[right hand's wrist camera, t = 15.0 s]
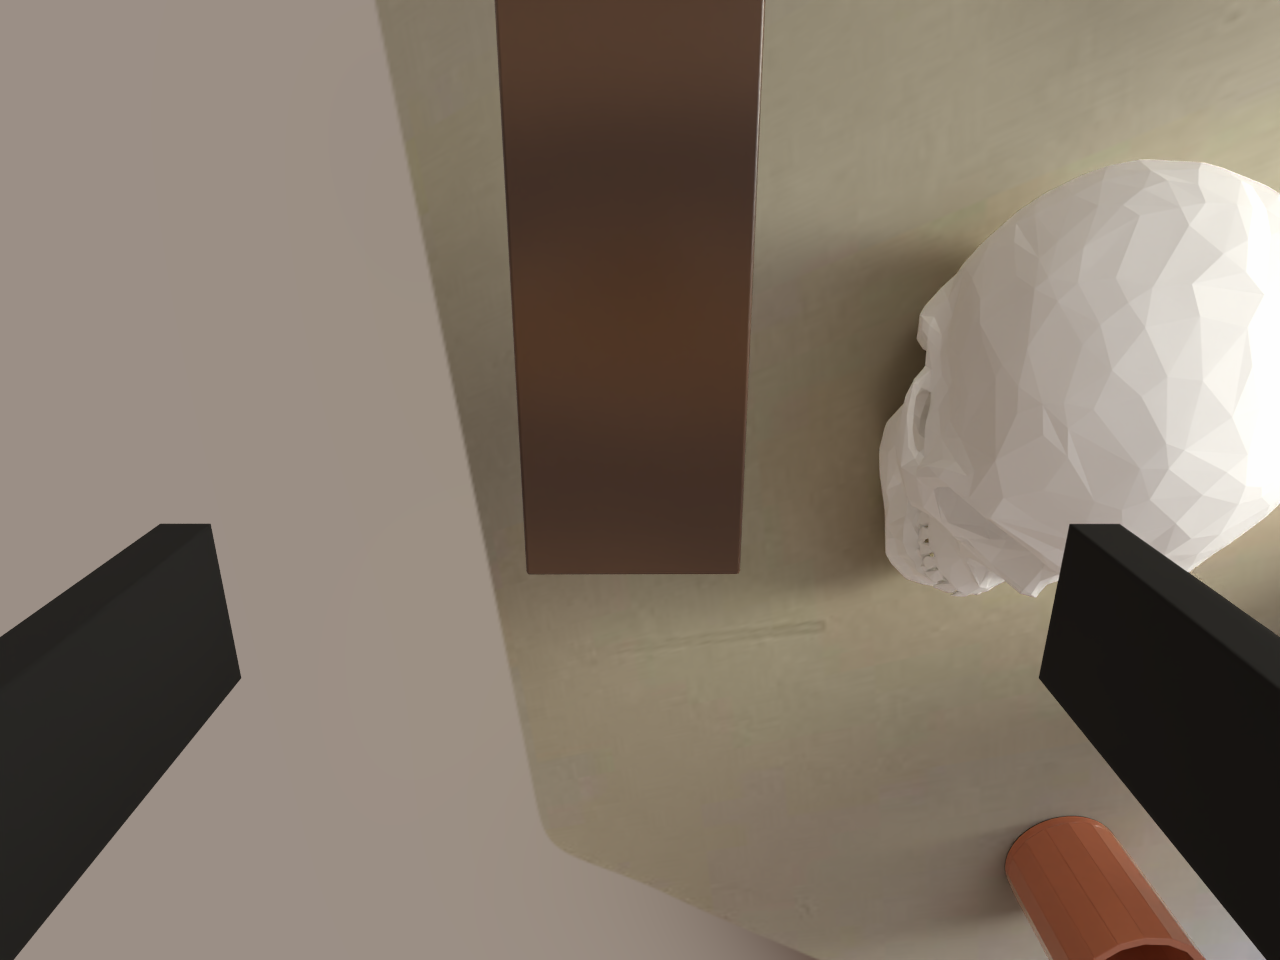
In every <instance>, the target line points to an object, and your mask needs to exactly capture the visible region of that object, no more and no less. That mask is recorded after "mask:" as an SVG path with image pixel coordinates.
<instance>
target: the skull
mask: <svg viewBox="0 0 1280 960" xmlns="http://www.w3.org/2000/svg"><path fill="white" fill-rule="evenodd" d="M917 341H918V342H919V344H920V345H921V347H922V348H923V349H924V350H926V362H925V367H924V368H923V369H922V371H921V372H920V373H919V374H918V375H917V376H916V377H915V378H914V380H913V383H912V384H911V386H910V388H909V390H908V392H907V394H906V396H905V400H904V404H903V405H902V406H901V407H900V408H899V409H898V410H897V411H896V412H895V413H894V415H893V416H892V417H891V418H890V419H889V420H888V421H887V423H886V425H885V428H884V432H883V436H882V440H881V444H880V448H879V472H880V480H881V487H882V494H883V502H884V509H885V552H886V555H887V557H888V559H889V561H890V562H891V564H892V565H893V566H894V567H895V568H896V569H897V570H898V571H899V572H900V573H901V574H902V575H903V576H904V577H905V578H906V579H908V580H911V581H914V582H917V583H920V584H925V585H931V586H933V587H934V588H937V589H939V590H942V591H944V592H947V593H953V594H951V595H952V596H967V595H970V594H974V595H978V594H981V593H982V592H986V591H988V590H990V589H992V588H994V587H995V586H997V585H999V584H1001V583H1003V582H1004V581H1006V582H1007V583H1008V584H1009V585H1011V586H1012V587H1013V588H1014V589H1015V590H1017V591H1018V592H1019V593H1020V594H1024V595H1028V596H1031V597H1035V598H1036V597H1037V595H1038V594H1039V593H1040V592H1041V591H1042V590H1043V589H1044V587H1045V586H1046V585H1047V584H1050V583H1053V582H1056V581H1058V579H1059V574H1060V569H1061V564H1062V559H1063V554H1064V549H1065V544H1066V539H1067V534H1068V529H1069V524H1121V525H1122V526H1123V527H1125V528H1126V529H1128V530H1129V531H1130V532H1132V533H1133V534H1135V535H1136V536H1138V537H1139V538H1140V539H1142V540H1143V541H1145V542H1146V543H1147V544H1149V545H1150V546H1152V547H1153V548H1154V549H1156V550H1157V551H1159V552H1160V553H1162V554H1163V555H1164V556H1166V557H1167V558H1169V559H1170V560H1171V561H1173V562H1174V563H1176V564H1177V565H1178V566H1180V567H1181V568H1183V569H1184V570H1186V571H1187V572H1190V571H1191V570H1192V569H1194V568H1195V567H1197V566H1198V565H1199V564H1201V563H1202V562H1203V561H1205V560H1206V559H1208V558H1209V557H1210V556H1212V555H1213V554H1215V553H1216V552H1218V551H1219V550H1221V549H1222V548H1224V547H1226V546H1227V545H1228V544H1230V543H1231V542H1233V541H1234V540H1235V539H1237V538H1238V537H1239V536H1241V535H1242V534H1244V533H1245V532H1246V531H1248V530H1249V529H1250V528H1252V527H1253V526H1255V525H1256V524H1257V523H1259V522H1260V521H1261V520H1263V519H1264V518H1265V517H1266V516H1267V515H1268V514H1269V513H1271V512H1272V511H1273V510H1274V509H1275V508H1276V507H1277V506H1278V505H1279V504H1280V193H1278V192H1276V191H1275V190H1273V189H1272V188H1270V187H1268V186H1267V185H1264V184H1262V183H1259V182H1257V181H1254V180H1252V179H1249V178H1247V177H1244V176H1242V175H1239V174H1237V173H1234V172H1232V171H1229V170H1227V169H1224V168H1222V167H1218V166H1215V165H1211V164H1208V163H1204V162H1189V161H1171V160H1154V159H1141V160H1135V161H1129V162H1124V163H1119V164H1114V165H1109V166H1106V167H1103V168H1100V169H1097V170H1094V171H1091V172H1088V173H1085V174H1083V175H1081V176H1078V177H1076V178H1074V179H1072V180H1070V181H1068V182H1066V183H1064V184H1062V185H1060V186H1058V187H1056V188H1054V189H1052V190H1050V191H1048V192H1046V193H1044V194H1043V195H1041V196H1040V197H1038V198H1037V199H1035V200H1033V201H1032V202H1030V203H1029V204H1027V205H1026V206H1024V207H1023V208H1021V209H1020V210H1018V211H1017V212H1016V213H1015V214H1014V215H1013V216H1012V217H1010V218H1009V219H1008V220H1007V221H1006V222H1005V223H1004V224H1003V225H1001V226H1000V227H999V228H998V229H997V230H996V231H995V232H994V233H992V234H991V235H990V236H989V237H988V238H987V239H986V240H985V241H983V242H982V243H981V244H980V246H979V247H978V248H977V249H976V250H975V251H974V252H973V253H972V254H971V255H970V257H969V258H968V259H967V260H966V261H965V262H964V263H963V265H962V266H961V268H960V269H959V270H958V272H957V273H956V275H955V276H953V277H952V278H951V279H950V280H949V281H948V282H947V283H946V284H945V285H944V286H942V287H941V288H940V289H939V291H938V292H937V293H936V294H935V295H934V296H933V297H932V298H931V299H930V300H929V302H928V303H927V304H926V305H925V306H924V308H923V310H922V311H921V313H920V315H919V326H918V334H917ZM926 526H928V527H926ZM926 539H929V543H925V540H926ZM929 553H933V554H934V557H931V556H930V554H929ZM955 590H957V591H956V592H955Z"/></svg>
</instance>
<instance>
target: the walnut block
mask: <svg viewBox="0 0 1280 960" xmlns="http://www.w3.org/2000/svg"><path fill="white" fill-rule="evenodd" d="M495 15H496V32H497V50H498V68H499V86H500V104H501V122H502V140H503V157H504V175H505V193H506V211H507V229H508V247H509V265H510V283H511V300H512V318H513V336H514V354H515V372H516V390H517V408H518V425H519V443H520V461H521V479H522V497H523V515H524V533H525V551H526V568H527V573H528V574H737V573H739V571H740V558H741V536H742V513H743V491H744V468H745V446H746V423H747V401H748V378H749V356H750V333H751V311H752V288H753V266H754V243H755V221H756V198H757V175H758V153H759V131H760V108H761V86H762V63H763V40H764V18H765V0H495Z"/></svg>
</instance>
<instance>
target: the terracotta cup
mask: <svg viewBox="0 0 1280 960" xmlns="http://www.w3.org/2000/svg"><path fill="white" fill-rule="evenodd" d="M1005 872H1006V877H1007V879H1008V882H1009V884H1010V886H1011V889H1012V891H1013V893H1014V895H1015V897H1016V899H1017V901H1018V903H1019V905H1020V906H1021V908H1022V910H1023V912H1024V914H1025V916H1026V918H1027V920H1028V922H1029V923H1030V925H1031V927H1032V929H1033V931H1034V933H1035V935H1036V937H1037V938H1038V940H1039V942H1040V944H1041V946H1042V948H1043V950H1044V952H1045V954H1046V955H1047V957H1048V959H1049V960H1206V959H1205V957H1204V956H1203V955H1202V953H1201V952H1200V950H1199V949H1198V948H1197V946H1196V945H1195V944H1194V942H1193V941H1192V940H1191V938H1190V937H1189V935H1188V934H1187V933H1186V931H1185V930H1184V929H1183V927H1182V926H1181V925H1180V923H1179V922H1178V920H1177V919H1176V918H1175V916H1174V915H1173V914H1172V912H1171V911H1170V910H1169V908H1168V907H1167V905H1166V904H1165V903H1164V901H1163V900H1162V899H1161V897H1160V896H1159V895H1158V893H1157V892H1156V890H1155V889H1154V888H1153V886H1152V885H1151V884H1150V882H1149V881H1148V880H1147V878H1146V877H1145V875H1144V874H1143V873H1142V871H1141V870H1140V869H1139V867H1138V866H1137V865H1136V863H1135V862H1134V860H1133V859H1132V858H1131V856H1130V855H1129V854H1128V852H1127V851H1126V850H1125V848H1124V847H1123V845H1122V844H1121V843H1120V842H1119V841H1118V840H1117V839H1116V837H1115V836H1114V834H1113V833H1112V832H1111V831H1110V830H1109V829H1108V828H1107V827H1106V826H1104V825H1103V824H1101V823H1100V822H1097V821H1095V820H1093V819H1090V818H1085V817H1079V816H1065V817H1058V818H1053V819H1050V820H1047V821H1044V822H1042V823H1039V824H1037V825H1035V826H1034V827H1032V828H1030V829H1029V830H1027V831H1026V832H1025V833H1023V834H1022V835H1021V836H1020V837H1019V838H1018V839H1017V840H1016V841H1015V843H1014V844H1013V845H1012V847H1011V849H1010V851H1009V852H1008V855H1007V858H1006V863H1005Z"/></svg>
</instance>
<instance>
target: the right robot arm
mask: <svg viewBox="0 0 1280 960" xmlns="http://www.w3.org/2000/svg"><path fill="white" fill-rule="evenodd" d="M240 679H241V675H240V670H239V665H238V660H237V655H236V650H235V645H234V640H233V635H232V630H231V624H230V620H229V615H228V609H227V604H226V599H225V595H224V589H223V584H222V579H221V574H220V569H219V564H218V559H217V554H216V549H215V544H214V539H213V534H212V529H211V524H159V525H158V526H157V527H155V528H154V529H152V530H151V531H150V532H148V533H147V534H145V535H144V536H142V537H141V538H140V539H138V540H137V541H135V542H134V543H133V544H131V545H130V546H128V547H127V548H126V549H124V550H123V551H121V552H120V553H119V554H117V555H116V556H114V557H113V558H111V559H110V560H109V561H107V562H106V563H104V564H103V565H102V566H100V567H99V568H97V569H96V570H95V571H93V572H92V573H90V574H89V575H87V576H86V577H85V578H83V579H82V580H80V581H79V582H78V583H76V584H75V585H73V586H72V587H70V588H69V589H68V590H66V591H65V592H63V593H62V594H61V595H59V596H58V597H56V598H55V599H54V600H52V601H51V602H49V603H48V604H47V605H45V606H44V607H42V608H41V609H39V610H38V611H37V612H35V613H34V614H32V615H31V616H29V617H28V618H27V619H25V620H24V621H22V622H21V623H20V624H18V625H17V626H15V627H14V628H13V629H11V630H10V631H8V632H7V633H5V634H4V635H3V636H1V637H0V960H14V959H15V957H16V956H17V955H18V954H19V952H20V951H21V950H22V949H23V947H24V946H25V945H26V944H27V943H28V941H29V940H30V939H31V938H32V936H33V935H34V934H35V933H36V931H37V930H38V929H39V928H40V926H41V925H42V924H43V923H44V921H45V920H46V919H47V918H48V917H49V915H50V914H51V913H52V912H53V910H54V909H55V908H56V907H57V905H58V904H59V903H60V902H61V900H62V899H63V898H64V897H65V895H66V894H67V893H68V892H69V891H70V889H71V888H72V887H73V886H74V884H75V883H76V882H77V881H78V879H79V878H80V877H81V876H82V874H83V873H84V872H85V871H86V869H87V868H88V867H89V866H90V864H91V863H92V862H93V861H94V860H95V858H96V857H97V856H98V855H99V853H100V852H101V851H102V850H103V848H104V847H105V846H106V845H107V843H108V842H109V841H110V840H111V839H112V837H113V836H114V835H115V833H116V832H117V831H118V830H119V829H120V827H121V826H122V825H123V824H124V822H125V821H126V820H127V819H128V817H129V816H130V815H131V814H132V813H133V811H134V810H135V809H136V808H137V806H138V805H139V804H140V803H141V801H142V800H143V799H144V798H145V796H146V795H147V794H148V793H149V792H150V790H151V789H152V788H153V787H154V785H155V784H156V783H157V782H158V780H159V779H160V778H161V777H162V775H163V774H164V773H165V772H166V770H167V769H168V768H169V767H170V765H171V764H172V763H173V762H174V761H175V759H176V758H177V757H178V756H179V754H180V753H181V752H182V751H183V749H184V748H185V747H186V746H187V744H188V743H189V742H190V741H191V739H192V738H193V737H194V736H195V735H196V733H197V732H198V731H199V730H200V728H201V727H202V726H203V725H204V723H205V722H206V721H207V720H208V718H209V717H210V716H211V715H212V713H213V712H214V711H215V710H216V709H217V707H218V706H219V705H220V704H221V702H222V701H223V700H224V699H225V697H226V696H227V695H228V694H229V692H230V691H231V690H232V689H233V688H234V686H235V685H236V684H237V682H238V681H239V680H240ZM1039 679H1040V680H1041V681H1042V683H1043V684H1044V685H1045V686H1046V688H1047V689H1048V690H1049V691H1050V692H1051V694H1052V695H1053V696H1054V697H1055V699H1056V700H1057V701H1058V702H1059V704H1060V705H1061V706H1062V707H1063V709H1064V710H1065V711H1066V712H1067V714H1068V715H1069V716H1070V717H1071V718H1072V720H1073V721H1074V722H1075V723H1076V725H1077V726H1078V727H1079V728H1080V730H1081V731H1082V732H1083V733H1084V735H1085V736H1086V737H1087V738H1088V740H1089V741H1090V742H1091V743H1092V744H1093V746H1094V747H1095V748H1096V749H1097V751H1098V752H1099V753H1100V754H1101V756H1102V757H1103V758H1104V759H1105V761H1106V762H1107V763H1108V764H1109V766H1110V767H1111V768H1112V769H1113V770H1114V772H1115V773H1116V774H1117V775H1118V777H1119V778H1120V779H1121V780H1122V782H1123V783H1124V784H1125V785H1126V787H1127V788H1128V789H1129V790H1130V792H1131V793H1132V794H1133V795H1134V796H1135V798H1136V799H1137V800H1138V801H1139V803H1140V804H1141V805H1142V806H1143V808H1144V809H1145V810H1146V811H1147V813H1148V814H1149V815H1150V816H1151V817H1152V819H1153V820H1154V821H1155V822H1156V824H1157V825H1158V826H1159V827H1160V829H1161V830H1162V831H1163V832H1164V834H1165V835H1166V836H1167V837H1168V839H1169V840H1170V841H1171V842H1172V843H1173V845H1174V846H1175V847H1176V848H1177V850H1178V851H1179V852H1180V853H1181V855H1182V856H1183V857H1184V858H1185V860H1186V861H1187V862H1188V863H1189V865H1190V866H1191V867H1192V868H1193V869H1194V871H1195V872H1196V873H1197V874H1198V876H1199V877H1200V878H1201V879H1202V881H1203V882H1204V883H1205V884H1206V886H1207V887H1208V888H1209V889H1210V891H1211V892H1212V893H1213V894H1214V895H1215V897H1216V898H1217V899H1218V900H1219V902H1220V903H1221V904H1222V905H1223V907H1224V908H1225V909H1226V910H1227V912H1228V913H1229V914H1230V915H1231V917H1232V918H1233V919H1234V920H1235V921H1236V923H1237V924H1238V925H1239V926H1240V928H1241V929H1242V930H1243V931H1244V933H1245V934H1246V935H1247V936H1248V938H1249V939H1250V940H1251V941H1252V943H1253V944H1254V945H1255V946H1256V947H1257V949H1258V950H1259V951H1260V952H1261V954H1262V955H1263V956H1264V957H1265V959H1266V960H1280V637H1279V636H1277V635H1276V634H1275V633H1273V632H1272V631H1270V630H1269V629H1267V628H1266V627H1265V626H1263V625H1262V624H1260V623H1259V622H1258V621H1256V620H1255V619H1253V618H1252V617H1251V616H1249V615H1248V614H1246V613H1245V612H1243V611H1242V610H1241V609H1239V608H1238V607H1236V606H1235V605H1234V604H1232V603H1231V602H1229V601H1228V600H1227V599H1225V598H1224V597H1222V596H1221V595H1219V594H1218V593H1217V592H1215V591H1214V590H1212V589H1211V588H1210V587H1208V586H1207V585H1205V584H1204V583H1202V582H1201V581H1200V580H1198V579H1197V578H1195V577H1194V576H1193V575H1191V574H1190V573H1188V572H1187V571H1186V570H1184V569H1183V568H1181V567H1180V566H1178V565H1177V564H1176V563H1174V562H1173V561H1171V560H1170V559H1169V558H1167V557H1166V556H1164V555H1163V554H1162V553H1160V552H1159V551H1157V550H1156V549H1154V548H1153V547H1152V546H1150V545H1149V544H1147V543H1146V542H1145V541H1143V540H1142V539H1140V538H1139V537H1138V536H1136V535H1135V534H1133V533H1132V532H1130V531H1129V530H1128V529H1126V528H1125V527H1123V526H1122V525H1121V524H1069V529H1068V534H1067V539H1066V544H1065V549H1064V554H1063V559H1062V564H1061V569H1060V574H1059V579H1058V584H1057V589H1056V594H1055V599H1054V604H1053V609H1052V614H1051V619H1050V624H1049V630H1048V635H1047V640H1046V645H1045V650H1044V655H1043V660H1042V665H1041V670H1040V675H1039Z"/></svg>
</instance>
